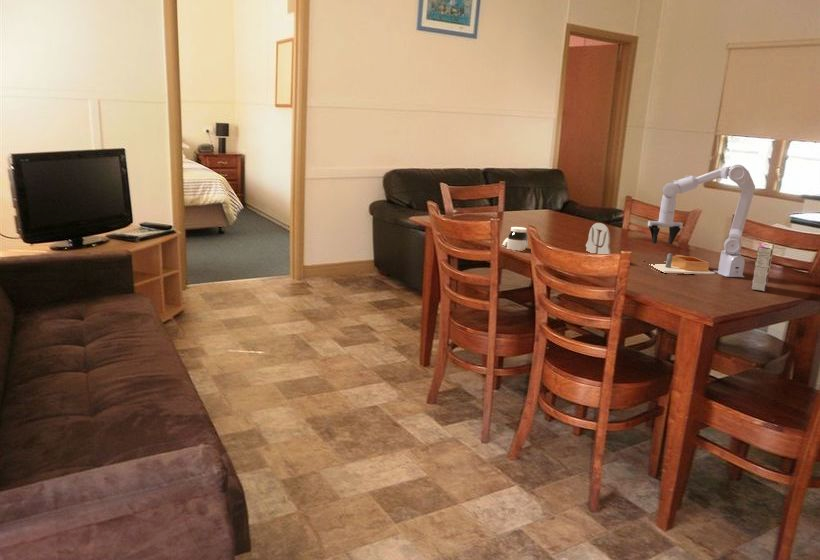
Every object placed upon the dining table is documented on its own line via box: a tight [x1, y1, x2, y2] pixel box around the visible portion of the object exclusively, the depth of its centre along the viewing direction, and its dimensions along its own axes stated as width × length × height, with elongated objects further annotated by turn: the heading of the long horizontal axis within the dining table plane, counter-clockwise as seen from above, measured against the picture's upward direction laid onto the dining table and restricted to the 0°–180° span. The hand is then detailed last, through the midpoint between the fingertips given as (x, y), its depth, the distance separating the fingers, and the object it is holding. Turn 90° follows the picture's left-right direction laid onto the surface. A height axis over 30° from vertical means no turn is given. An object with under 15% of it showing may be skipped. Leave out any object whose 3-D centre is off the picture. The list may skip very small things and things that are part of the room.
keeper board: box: [649, 252, 716, 275], centre depth 261 cm, size 20×22×7 cm
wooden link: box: [671, 254, 710, 271], centre depth 262 cm, size 15×10×4 cm, turn 6°
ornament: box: [585, 222, 611, 255], centre depth 266 cm, size 22×13×17 cm, turn 15°
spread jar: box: [502, 226, 529, 250], centre depth 276 cm, size 12×11×12 cm
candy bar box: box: [750, 242, 775, 292], centre depth 234 cm, size 11×5×16 cm, turn 148°
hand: (662, 243), depth 264 cm, fingers open, 7 cm apart
